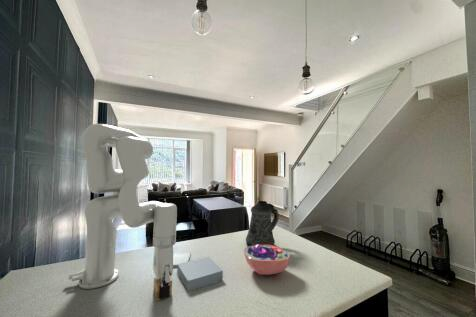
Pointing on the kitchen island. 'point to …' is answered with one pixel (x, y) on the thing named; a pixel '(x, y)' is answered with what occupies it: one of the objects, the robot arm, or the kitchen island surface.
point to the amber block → (157, 285)
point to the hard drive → (180, 258)
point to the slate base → (199, 273)
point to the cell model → (266, 259)
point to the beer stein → (262, 224)
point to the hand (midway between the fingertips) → (162, 292)
